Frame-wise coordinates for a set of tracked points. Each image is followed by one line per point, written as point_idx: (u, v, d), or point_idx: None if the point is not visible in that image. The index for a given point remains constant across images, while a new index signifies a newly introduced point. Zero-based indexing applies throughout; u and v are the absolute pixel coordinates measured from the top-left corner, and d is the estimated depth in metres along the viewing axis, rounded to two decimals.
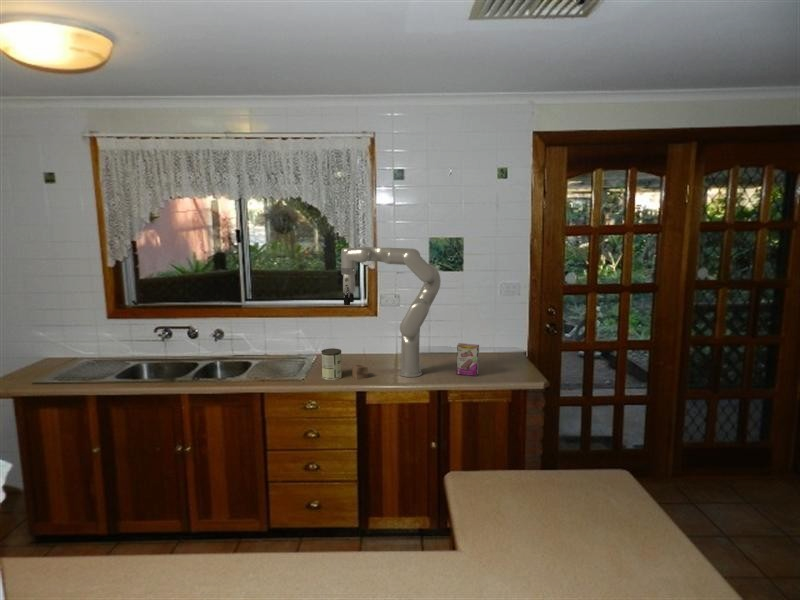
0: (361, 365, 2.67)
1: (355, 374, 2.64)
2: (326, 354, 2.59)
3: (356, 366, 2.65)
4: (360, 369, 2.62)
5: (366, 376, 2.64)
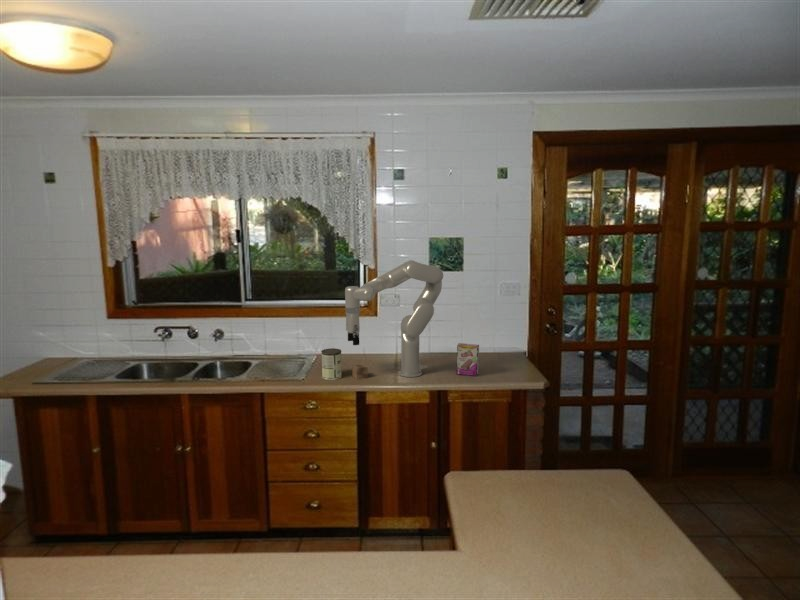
0: (361, 365, 2.66)
1: (355, 374, 2.64)
2: (326, 354, 2.59)
3: (356, 366, 2.65)
4: (360, 369, 2.62)
5: (366, 376, 2.64)
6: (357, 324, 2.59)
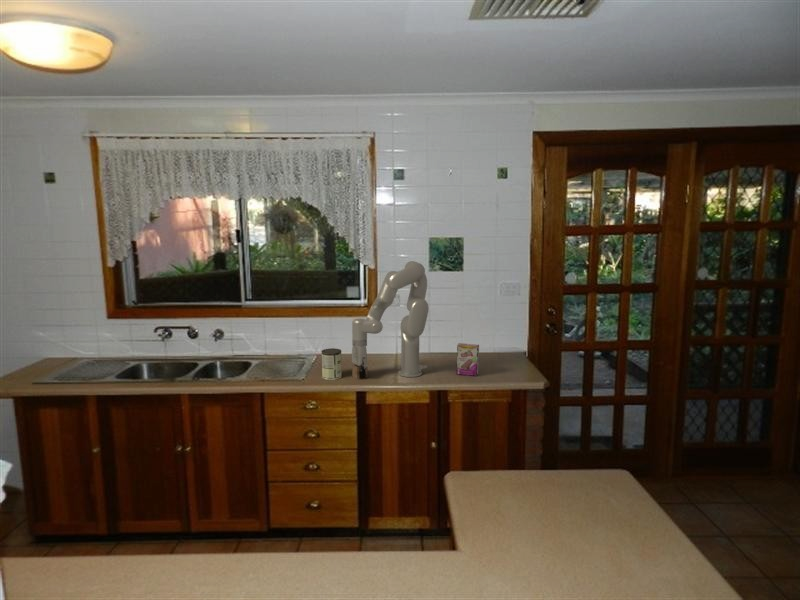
0: None
1: (355, 374, 2.64)
2: (326, 354, 2.59)
3: (356, 366, 2.65)
4: None
5: (366, 376, 2.64)
6: (365, 356, 2.60)
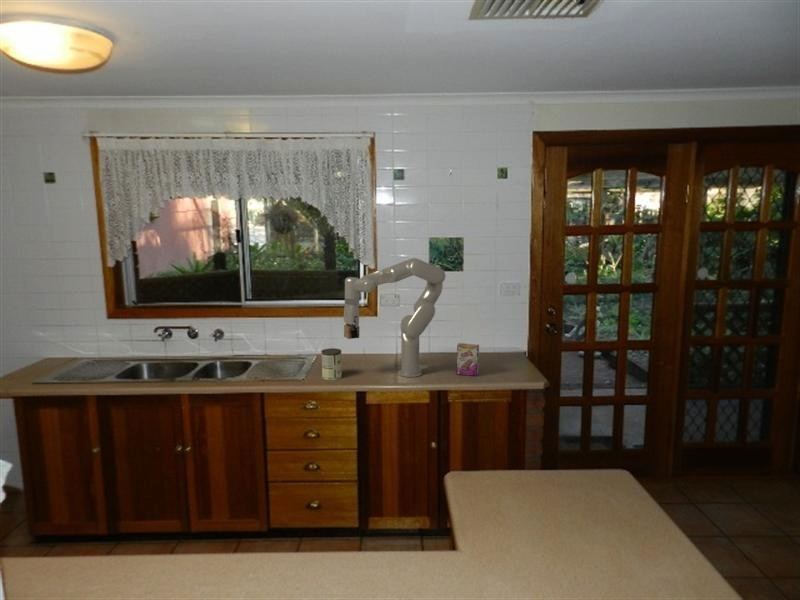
0: (353, 325, 2.63)
1: (346, 333, 2.60)
2: (326, 354, 2.59)
3: (348, 325, 2.61)
4: None
5: (358, 336, 2.61)
6: (357, 315, 2.57)
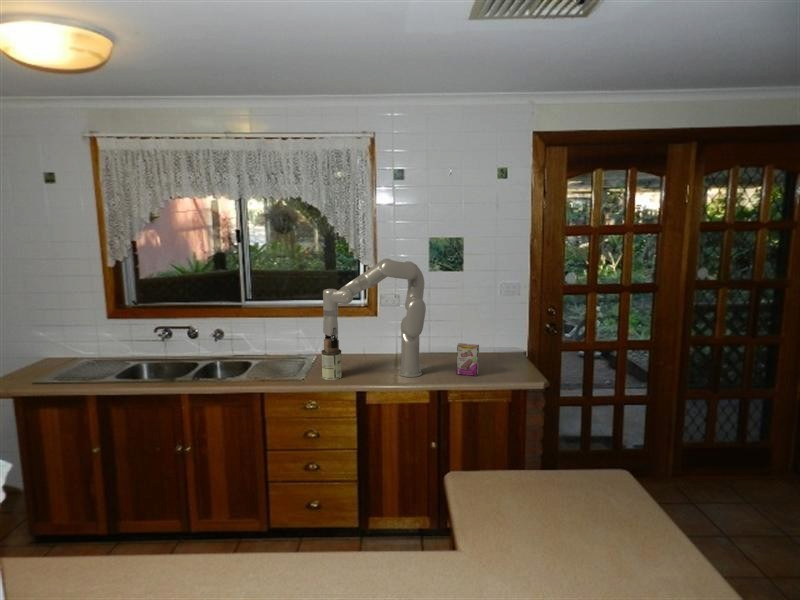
0: None
1: (326, 347, 2.62)
2: (326, 354, 2.59)
3: (327, 339, 2.63)
4: None
5: (337, 350, 2.62)
6: (336, 327, 2.58)
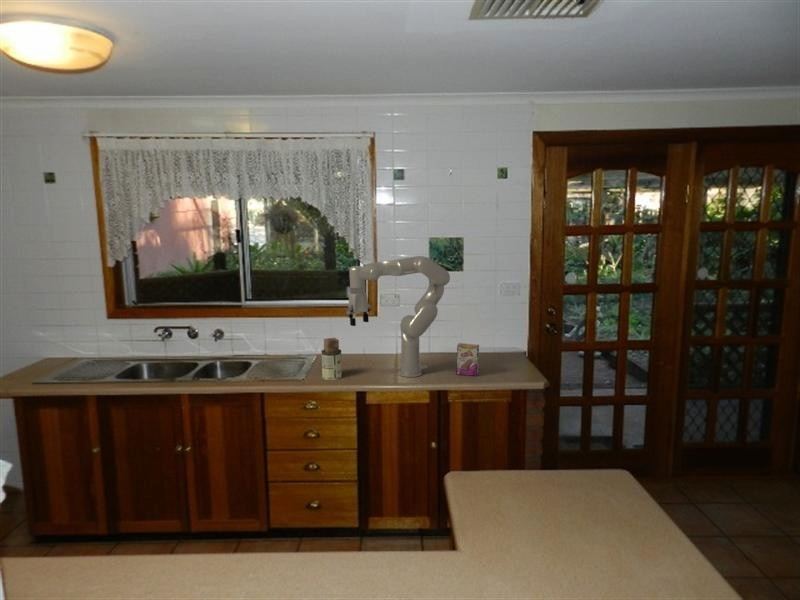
0: (332, 338, 2.64)
1: (326, 347, 2.62)
2: (326, 354, 2.59)
3: (327, 339, 2.63)
4: (331, 342, 2.60)
5: (337, 350, 2.62)
6: (353, 305, 2.53)
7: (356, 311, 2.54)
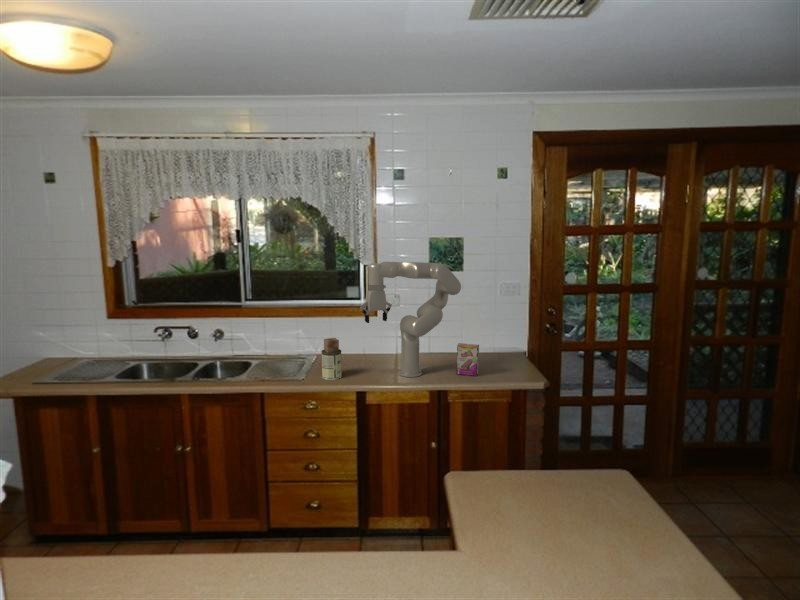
0: (332, 338, 2.64)
1: (326, 347, 2.62)
2: (326, 354, 2.59)
3: (327, 339, 2.63)
4: (331, 342, 2.60)
5: (337, 350, 2.62)
6: (367, 301, 2.53)
7: (370, 308, 2.53)
